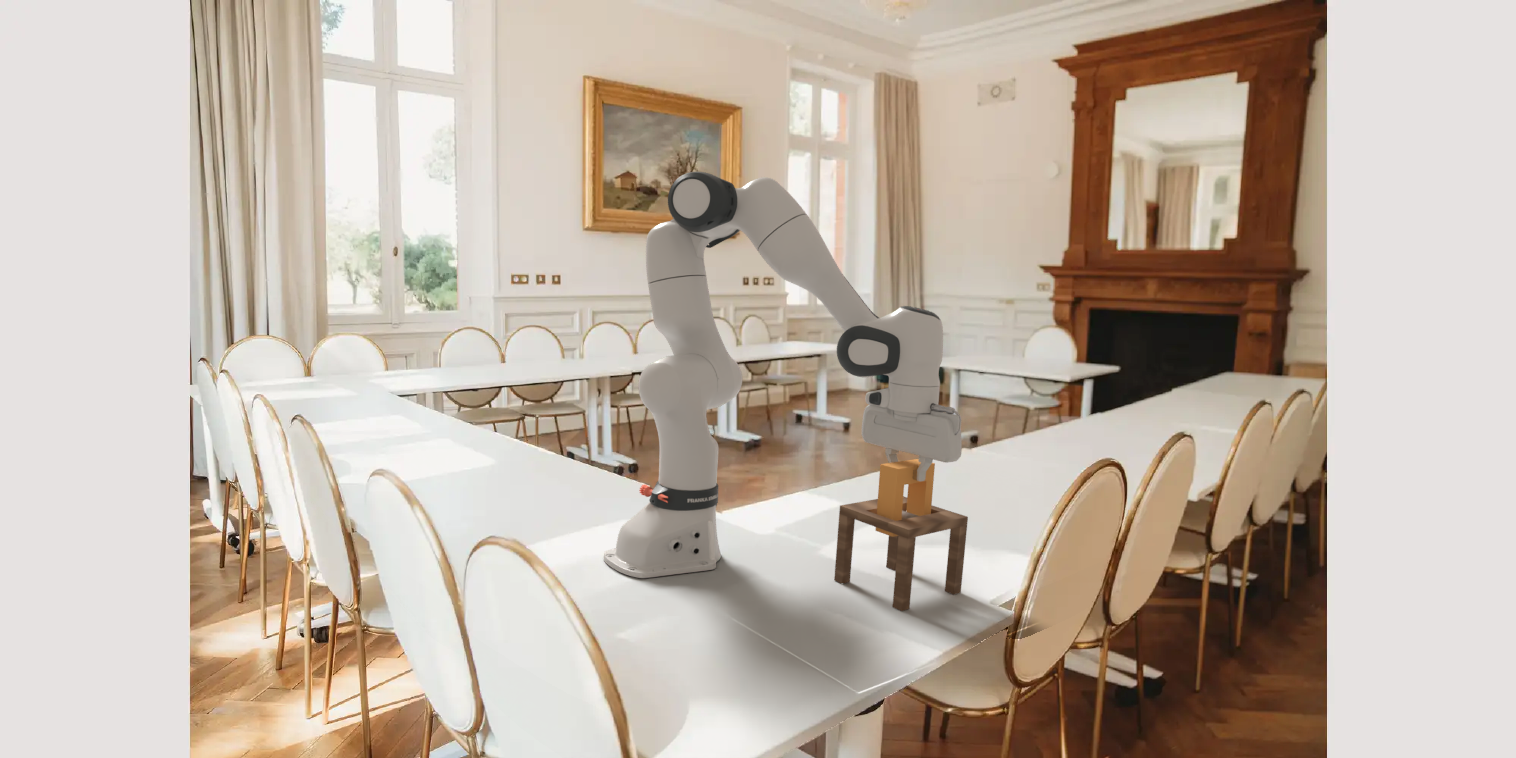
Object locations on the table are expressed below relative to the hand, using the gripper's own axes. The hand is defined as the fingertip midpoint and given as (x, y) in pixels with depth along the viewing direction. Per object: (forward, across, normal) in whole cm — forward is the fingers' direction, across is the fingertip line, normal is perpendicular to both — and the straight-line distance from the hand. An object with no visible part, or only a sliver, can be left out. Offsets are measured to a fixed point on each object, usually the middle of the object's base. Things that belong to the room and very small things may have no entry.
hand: (906, 477), depth 146 cm
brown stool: (+20, 0, 0) cm, 20 cm away
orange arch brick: (+10, 0, 0) cm, 10 cm away
